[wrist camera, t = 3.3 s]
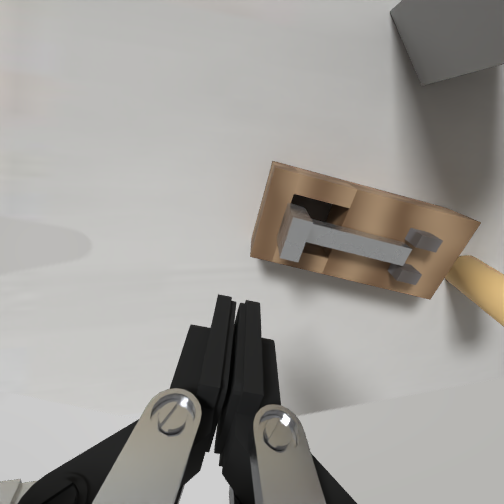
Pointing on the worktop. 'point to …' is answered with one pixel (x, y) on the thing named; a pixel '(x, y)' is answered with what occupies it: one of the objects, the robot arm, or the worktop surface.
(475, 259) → the peg
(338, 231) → the lock pin
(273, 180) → the socket block
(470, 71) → the perfume bottle
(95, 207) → the worktop surface
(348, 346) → the worktop surface
